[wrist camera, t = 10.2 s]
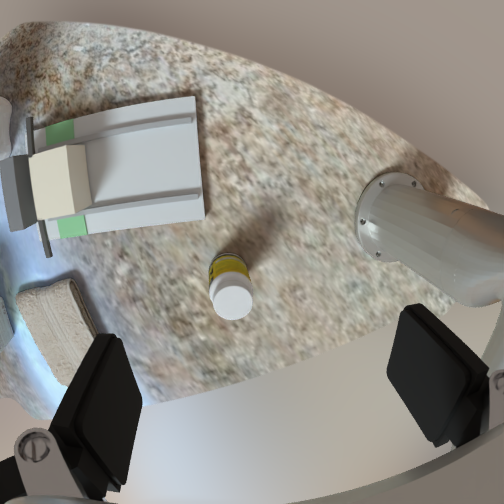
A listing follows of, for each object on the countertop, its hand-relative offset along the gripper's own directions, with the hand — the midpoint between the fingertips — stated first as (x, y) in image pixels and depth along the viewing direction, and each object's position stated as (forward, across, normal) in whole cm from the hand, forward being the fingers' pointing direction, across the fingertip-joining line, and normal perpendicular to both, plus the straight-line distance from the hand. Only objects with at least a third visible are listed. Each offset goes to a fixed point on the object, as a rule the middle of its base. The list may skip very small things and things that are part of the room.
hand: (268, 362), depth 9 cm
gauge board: (+27, +14, -6) cm, 31 cm away
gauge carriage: (+25, +19, -6) cm, 32 cm away
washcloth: (+27, +26, +17) cm, 41 cm away
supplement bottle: (+28, +1, +8) cm, 29 cm away
